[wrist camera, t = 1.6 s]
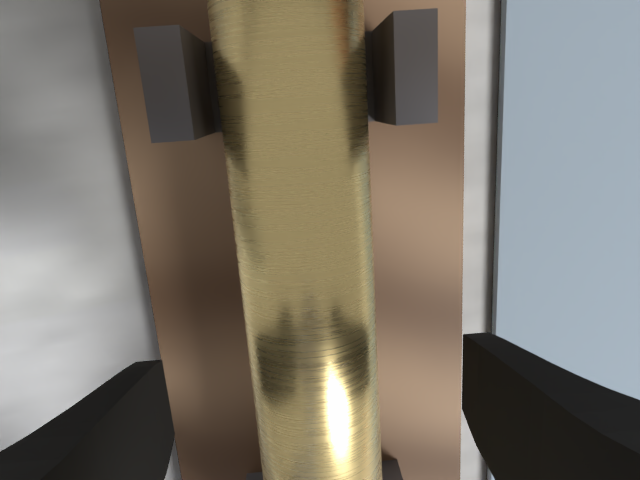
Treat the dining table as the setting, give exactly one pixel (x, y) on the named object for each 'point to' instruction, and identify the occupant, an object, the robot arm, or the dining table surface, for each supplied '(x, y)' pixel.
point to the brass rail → (303, 229)
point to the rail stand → (219, 241)
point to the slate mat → (570, 187)
